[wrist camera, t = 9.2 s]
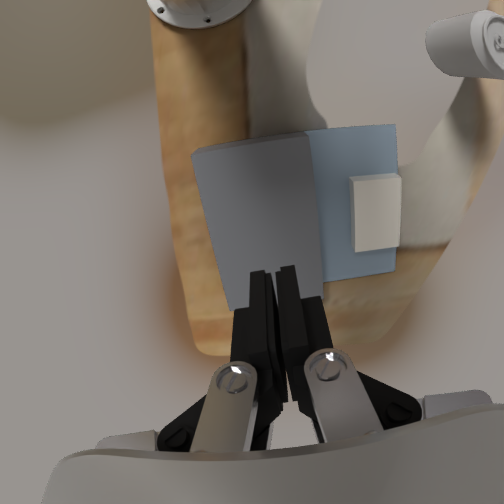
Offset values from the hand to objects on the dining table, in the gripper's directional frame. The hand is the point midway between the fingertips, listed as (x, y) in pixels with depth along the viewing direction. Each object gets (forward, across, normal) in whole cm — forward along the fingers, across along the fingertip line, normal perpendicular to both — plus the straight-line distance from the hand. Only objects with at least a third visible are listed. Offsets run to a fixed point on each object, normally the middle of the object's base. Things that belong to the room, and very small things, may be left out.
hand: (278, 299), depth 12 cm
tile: (+23, -12, +9) cm, 27 cm away
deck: (+25, +2, +8) cm, 27 cm away
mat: (+25, -10, +9) cm, 29 cm away
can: (+26, -25, -11) cm, 38 cm away
